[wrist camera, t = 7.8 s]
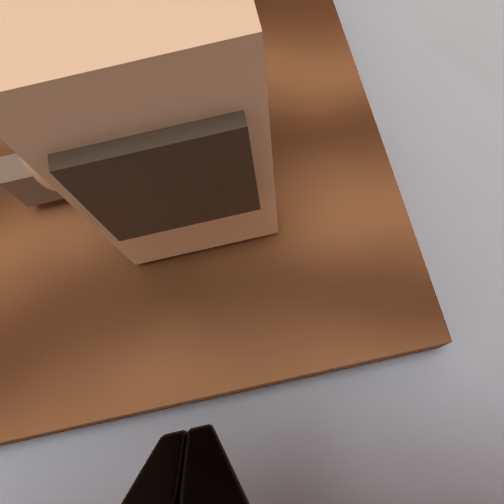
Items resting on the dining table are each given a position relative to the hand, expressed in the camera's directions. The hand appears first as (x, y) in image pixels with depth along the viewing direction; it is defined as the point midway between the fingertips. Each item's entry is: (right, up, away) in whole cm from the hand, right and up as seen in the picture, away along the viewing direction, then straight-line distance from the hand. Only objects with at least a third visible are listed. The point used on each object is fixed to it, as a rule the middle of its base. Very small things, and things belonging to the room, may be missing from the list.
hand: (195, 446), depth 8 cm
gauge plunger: (-3, +5, +9) cm, 10 cm away
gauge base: (-1, +7, +11) cm, 13 cm away
